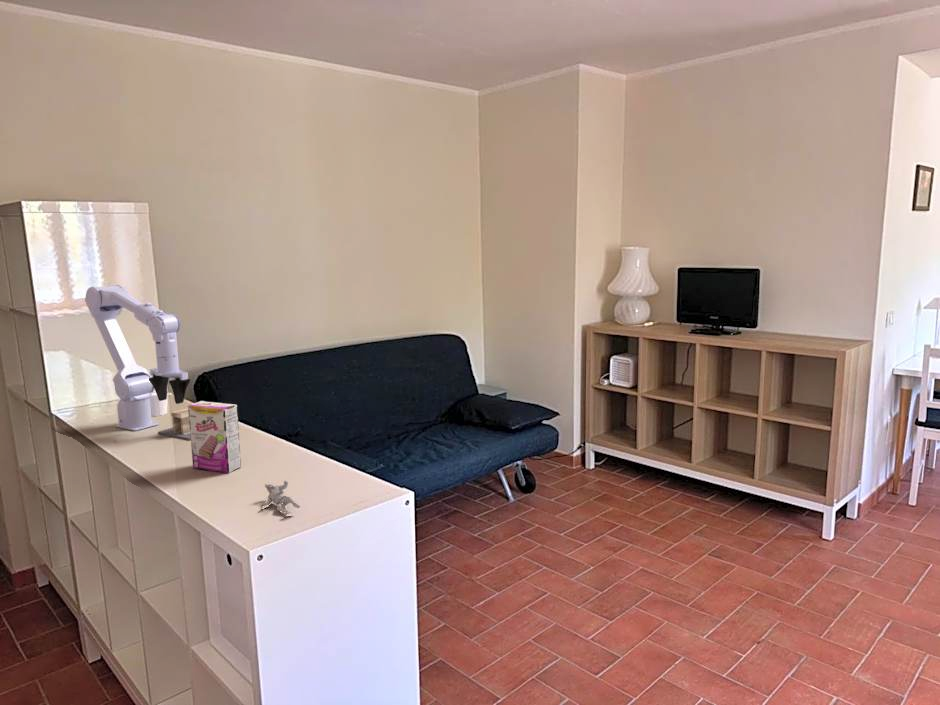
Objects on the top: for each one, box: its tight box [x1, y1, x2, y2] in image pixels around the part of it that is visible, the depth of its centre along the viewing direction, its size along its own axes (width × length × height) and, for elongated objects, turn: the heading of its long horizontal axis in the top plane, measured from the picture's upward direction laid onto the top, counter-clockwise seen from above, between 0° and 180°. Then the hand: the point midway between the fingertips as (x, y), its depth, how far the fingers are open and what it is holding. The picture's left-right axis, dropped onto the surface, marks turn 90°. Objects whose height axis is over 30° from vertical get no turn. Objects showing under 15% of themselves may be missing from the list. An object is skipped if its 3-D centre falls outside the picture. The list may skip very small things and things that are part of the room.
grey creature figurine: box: [260, 480, 301, 516], centre depth 136 cm, size 8×5×12 cm
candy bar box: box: [187, 400, 242, 474], centre depth 159 cm, size 11×5×16 cm, turn 71°
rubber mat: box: [157, 427, 191, 441], centre depth 191 cm, size 14×10×1 cm
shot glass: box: [150, 391, 168, 417], centre depth 212 cm, size 7×7×7 cm
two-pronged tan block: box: [170, 407, 190, 434], centre depth 190 cm, size 4×6×6 cm
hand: (171, 401), depth 190 cm, fingers open, 7 cm apart
